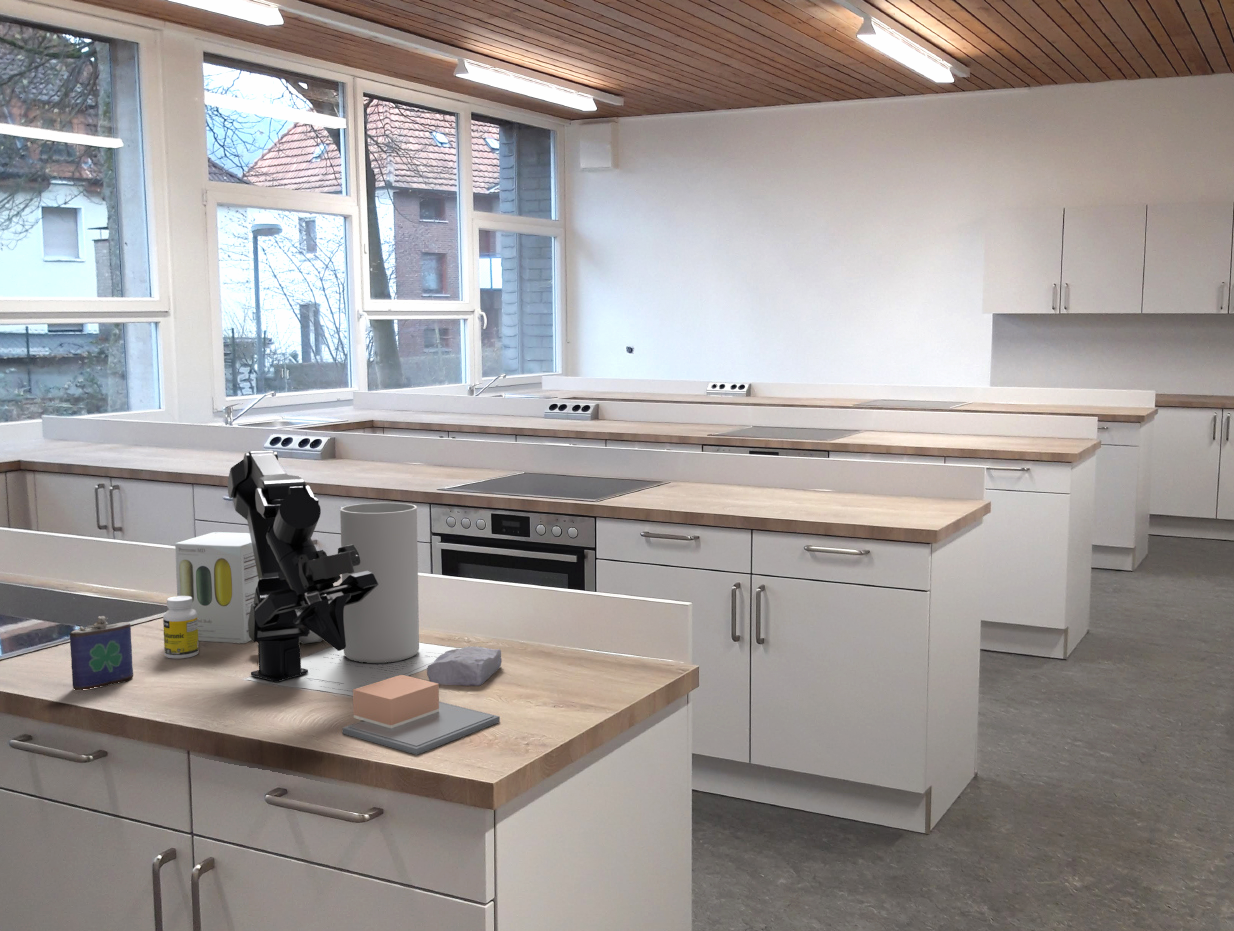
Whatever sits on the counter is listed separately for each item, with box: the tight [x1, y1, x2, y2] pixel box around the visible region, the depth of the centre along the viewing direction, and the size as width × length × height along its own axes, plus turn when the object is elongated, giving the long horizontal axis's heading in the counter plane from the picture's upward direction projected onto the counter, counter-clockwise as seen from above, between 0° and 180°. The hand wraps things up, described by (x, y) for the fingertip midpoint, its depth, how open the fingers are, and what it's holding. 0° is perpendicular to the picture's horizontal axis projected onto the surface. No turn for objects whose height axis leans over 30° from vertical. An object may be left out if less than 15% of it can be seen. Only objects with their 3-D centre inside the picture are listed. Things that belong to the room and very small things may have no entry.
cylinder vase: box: [339, 502, 420, 664], centre depth 196 cm, size 12×12×25 cm
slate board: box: [342, 701, 501, 756], centre depth 160 cm, size 14×16×1 cm
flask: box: [69, 615, 134, 691], centre depth 180 cm, size 9×3×11 cm, turn 138°
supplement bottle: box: [162, 595, 200, 660], centre depth 196 cm, size 5×5×10 cm
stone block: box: [426, 645, 503, 687], centre depth 186 cm, size 12×5×10 cm
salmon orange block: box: [352, 674, 440, 728], centre depth 162 cm, size 4×9×8 cm
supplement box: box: [174, 531, 259, 644], centre depth 211 cm, size 13×13×18 cm
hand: (342, 649), depth 168 cm, fingers closed
